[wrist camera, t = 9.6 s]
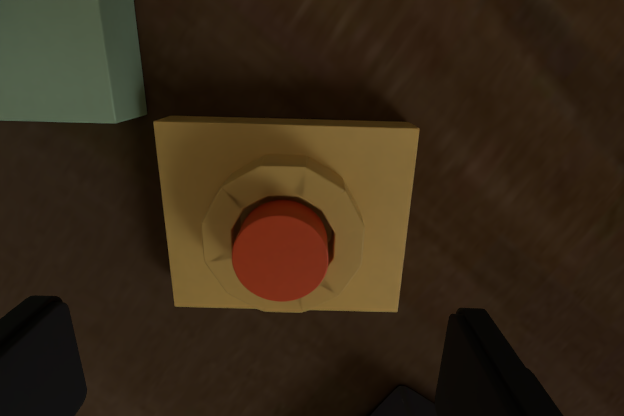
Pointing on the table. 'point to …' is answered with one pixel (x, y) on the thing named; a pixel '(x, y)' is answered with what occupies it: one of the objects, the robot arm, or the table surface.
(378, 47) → the table surface
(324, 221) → the tan flat block
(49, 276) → the table surface
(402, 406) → the calculator
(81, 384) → the robot arm
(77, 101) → the dial panel
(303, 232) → the button
